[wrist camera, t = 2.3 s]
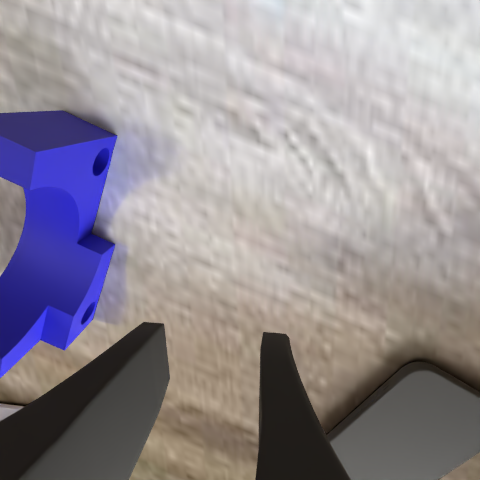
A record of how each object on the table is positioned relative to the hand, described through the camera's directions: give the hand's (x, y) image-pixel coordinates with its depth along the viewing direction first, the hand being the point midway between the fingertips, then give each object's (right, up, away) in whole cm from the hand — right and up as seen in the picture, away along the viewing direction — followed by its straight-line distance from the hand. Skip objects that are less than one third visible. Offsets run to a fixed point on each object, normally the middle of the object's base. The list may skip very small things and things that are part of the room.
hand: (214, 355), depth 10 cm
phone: (+10, -11, +13) cm, 20 cm away
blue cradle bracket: (-9, +4, +10) cm, 14 cm away
